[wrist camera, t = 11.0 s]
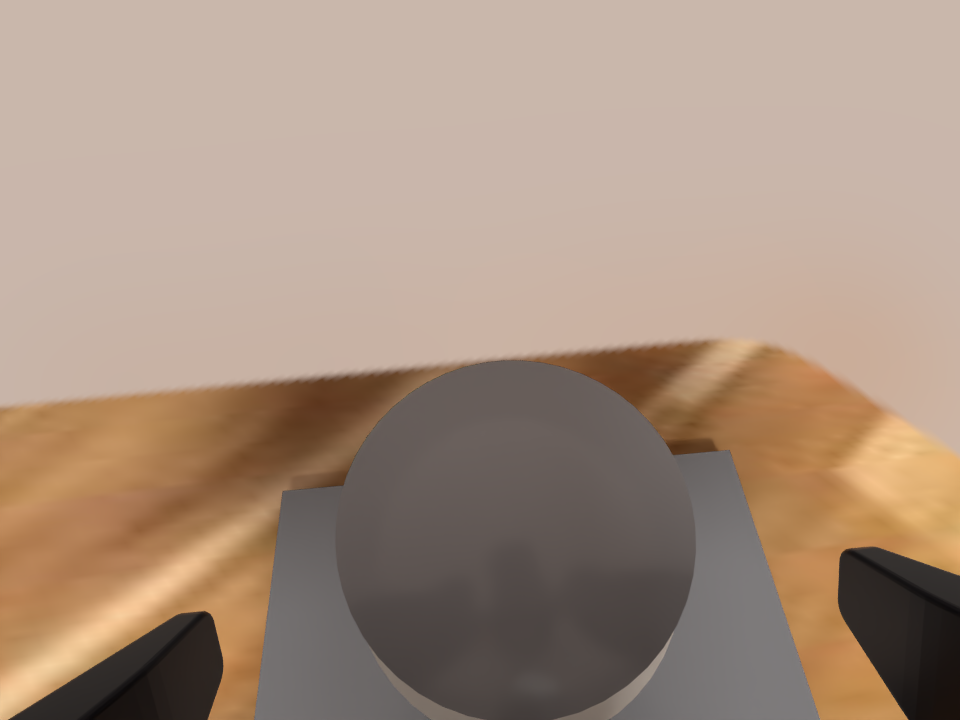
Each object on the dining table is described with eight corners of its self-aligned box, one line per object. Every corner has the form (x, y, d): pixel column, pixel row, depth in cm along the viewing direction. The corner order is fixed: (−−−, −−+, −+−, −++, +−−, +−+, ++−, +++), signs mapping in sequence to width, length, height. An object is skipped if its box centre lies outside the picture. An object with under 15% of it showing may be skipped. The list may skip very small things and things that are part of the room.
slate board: (722, 458, 20) (729, 450, 20) (835, 806, 15) (851, 811, 14) (290, 498, 21) (282, 491, 20) (249, 852, 15) (236, 860, 14)
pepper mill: (628, 691, 16) (814, 664, 6) (462, 751, 15) (345, 836, 5) (565, 525, 19) (616, 306, 8) (421, 571, 18) (291, 398, 8)
